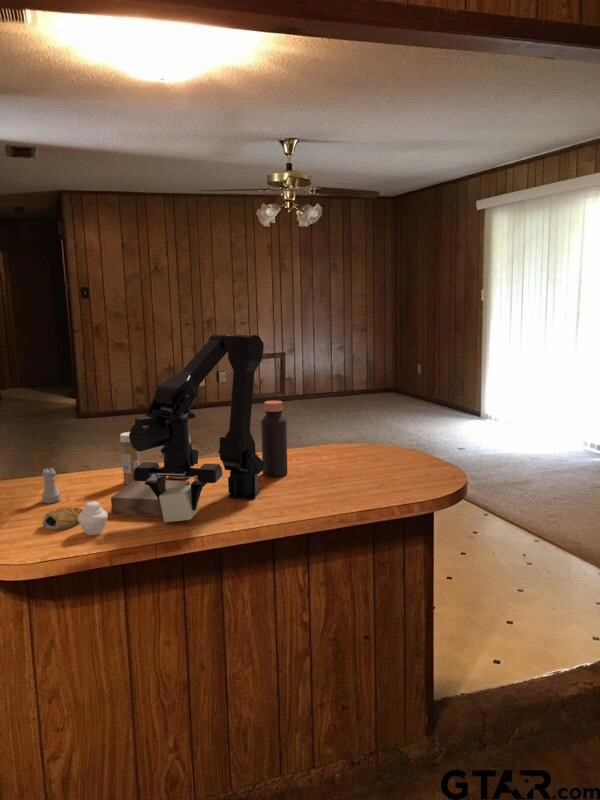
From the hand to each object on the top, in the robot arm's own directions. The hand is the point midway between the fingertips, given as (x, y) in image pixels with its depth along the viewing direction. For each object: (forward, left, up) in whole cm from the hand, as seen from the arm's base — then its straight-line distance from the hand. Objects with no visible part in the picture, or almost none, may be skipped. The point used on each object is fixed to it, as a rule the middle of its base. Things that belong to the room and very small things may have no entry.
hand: (180, 509), depth 149 cm
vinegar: (-14, -37, -3) cm, 40 cm away
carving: (+11, -31, -3) cm, 33 cm away
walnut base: (+10, -9, -3) cm, 14 cm away
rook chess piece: (+36, -9, -3) cm, 37 cm away
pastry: (+25, +5, -3) cm, 26 cm away
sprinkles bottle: (+22, -25, -3) cm, 33 cm away
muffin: (+16, +9, -3) cm, 19 cm away
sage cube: (0, 0, -2) cm, 2 cm away
